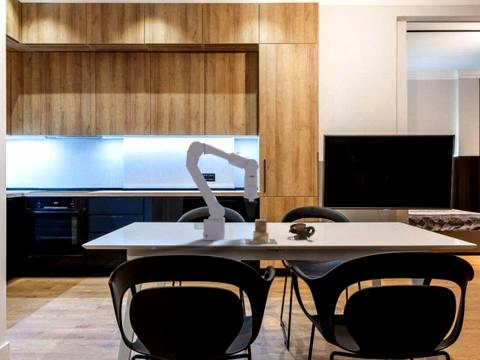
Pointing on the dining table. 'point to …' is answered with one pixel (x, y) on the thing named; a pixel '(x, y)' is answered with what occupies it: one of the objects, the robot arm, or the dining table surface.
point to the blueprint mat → (250, 241)
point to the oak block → (260, 236)
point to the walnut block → (260, 225)
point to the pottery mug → (301, 231)
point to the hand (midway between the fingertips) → (250, 216)
